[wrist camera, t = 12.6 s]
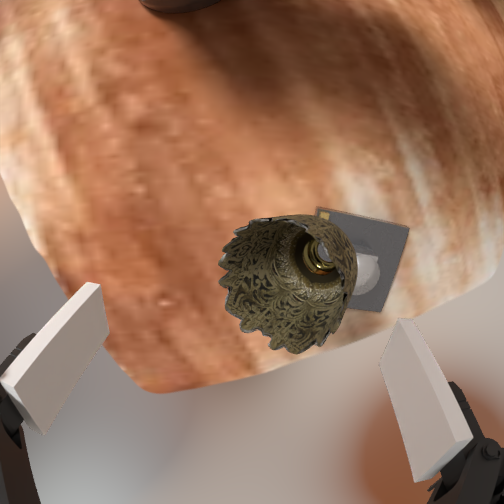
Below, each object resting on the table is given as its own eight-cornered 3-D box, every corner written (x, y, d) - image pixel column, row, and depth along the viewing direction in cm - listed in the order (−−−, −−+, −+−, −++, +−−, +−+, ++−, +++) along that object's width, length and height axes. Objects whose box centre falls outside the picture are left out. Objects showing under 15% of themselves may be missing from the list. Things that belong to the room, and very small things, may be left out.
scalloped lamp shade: (395, 228, 18) (369, 265, 12) (352, 314, 22) (308, 377, 16) (300, 183, 22) (232, 196, 15) (272, 268, 25) (206, 308, 19)
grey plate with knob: (316, 206, 35) (321, 215, 31) (406, 225, 35) (419, 236, 31) (295, 296, 39) (297, 313, 35) (378, 308, 39) (387, 324, 35)
